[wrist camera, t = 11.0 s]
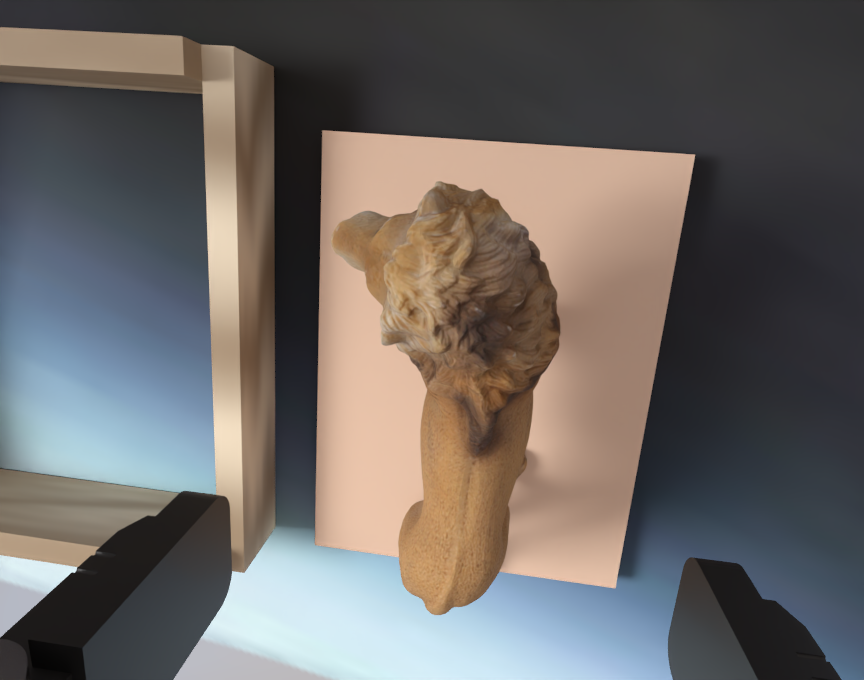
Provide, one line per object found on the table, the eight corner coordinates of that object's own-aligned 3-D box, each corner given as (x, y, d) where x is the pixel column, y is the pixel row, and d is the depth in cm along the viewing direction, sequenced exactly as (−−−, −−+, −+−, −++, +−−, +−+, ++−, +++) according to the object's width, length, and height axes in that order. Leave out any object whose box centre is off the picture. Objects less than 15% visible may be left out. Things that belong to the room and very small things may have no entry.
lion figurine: (385, 187, 19) (285, 188, 11) (545, 177, 19) (577, 169, 10) (416, 565, 23) (360, 792, 14) (550, 568, 22) (577, 809, 14)
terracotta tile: (329, 132, 20) (322, 130, 19) (687, 156, 19) (695, 154, 18) (321, 533, 24) (314, 545, 23) (611, 574, 23) (615, 588, 22)
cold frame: (-188, 42, 21) (-388, 0, 17) (273, 66, 20) (197, 28, 15) (-102, 473, 26) (-238, 537, 21) (275, 526, 24) (218, 610, 20)
